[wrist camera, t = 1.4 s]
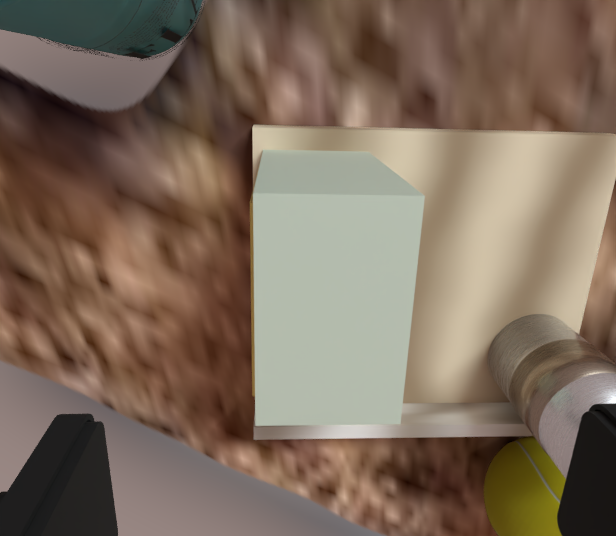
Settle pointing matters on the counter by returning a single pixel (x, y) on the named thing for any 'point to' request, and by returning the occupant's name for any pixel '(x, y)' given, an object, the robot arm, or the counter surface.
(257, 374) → the carton
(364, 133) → the shelf board
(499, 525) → the tennis ball
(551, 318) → the metal tin
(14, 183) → the counter surface
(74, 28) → the beverage bottle
